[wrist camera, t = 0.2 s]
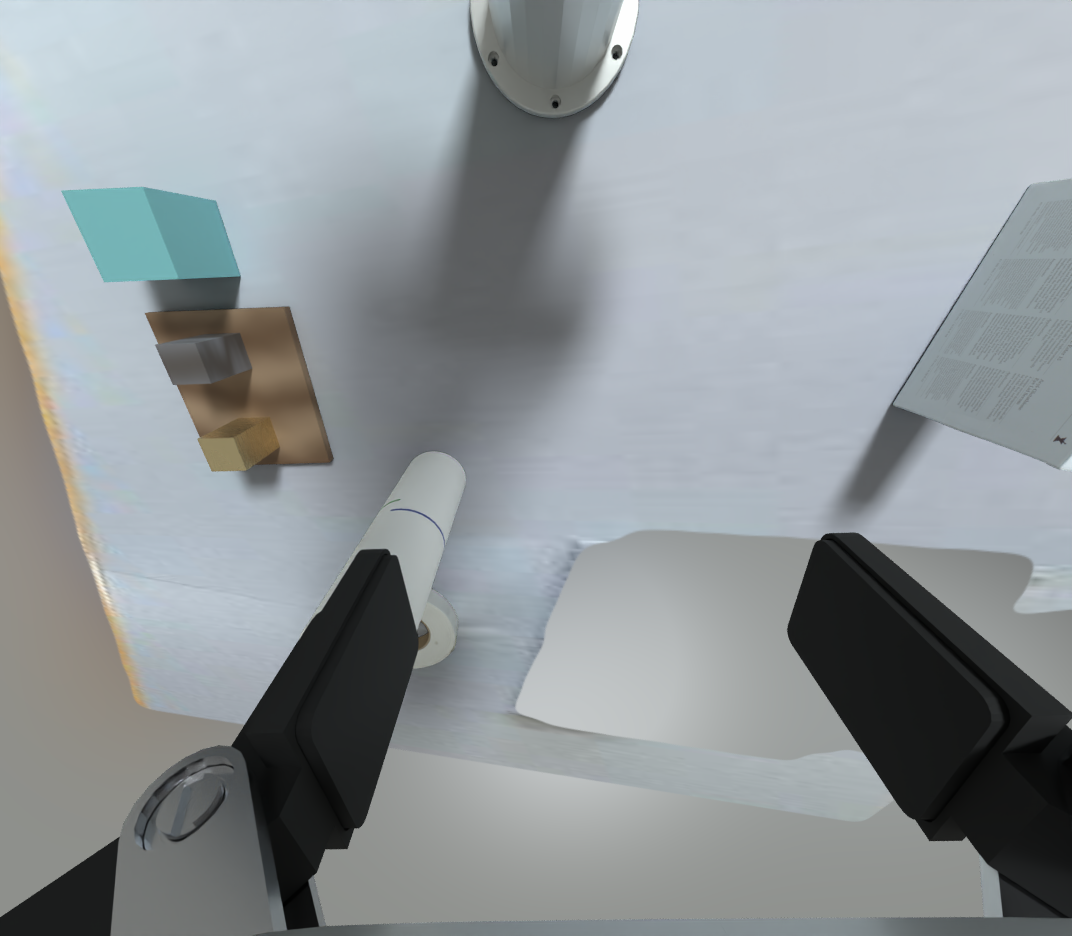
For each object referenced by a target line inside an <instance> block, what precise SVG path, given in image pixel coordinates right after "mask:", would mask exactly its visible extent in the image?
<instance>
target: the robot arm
mask: <svg viewBox="0 0 1072 936" xmlns="http://www.w3.org/2000/svg"><path fill="white" fill-rule="evenodd" d="M638 11H639V0H470V13H471V20H472V27H473V33H474V37H475V41H476V44H477V48H478V51H479V54H480V56H481V59H482V62H483V64H484V67H485V69H486V70H487V72H488V74H489V76H490V78H491V79H492V81H493V83H494V84H495V85H496V87H497V88H498V89H499V90H500V92H501V93H502V94H503V95H504V96H505V97H506V98H507V99H508V100H509V101H511V102H512V103H513V104H514V105H515V106H516V107H518V108H520V109H522V110H524V111H526V112H528V113H529V114H532V115H536V116H540V117H544V118H560V117H565V116H569V115H573V114H575V113H577V112H579V111H581V110H583V109H585V108H587V107H589V106H590V105H591V104H592V103H594V102H595V101H596V100H597V99H599V98H600V97H601V96H602V95H603V93H604V92H605V91H606V90H607V89H608V88H609V87H610V85H611V84H612V83H613V81H614V79H615V78H616V76H617V74H618V73H619V71H620V70H621V68H622V66H623V63H624V61H625V59H626V57H627V54H628V51H629V49H630V46H631V43H632V40H633V37H634V33H635V28H636V23H637V18H638ZM613 54H617V55H618V59H617V60H614V59H613V58H612V55H613ZM493 60H496V61H497V62H498V64H497V66H492V65H491V64H492V61H493ZM553 102H557V103H558V107H557V108H556V109H555V108H553V107H552V104H553ZM787 630H788V631H787V632H788V637H789V640H790V642H791V644H792V646H793V647H794V649H795V650H796V652H797V653H798V655H799V656H800V658H801V659H802V660H803V662H804V664H805V665H806V666H807V668H808V670H809V671H810V673H811V674H812V676H813V677H814V679H815V680H816V682H817V683H818V685H819V686H820V688H821V689H822V691H823V692H824V694H825V695H826V697H827V698H828V700H829V701H830V703H831V704H832V706H833V707H834V709H835V710H836V712H837V714H838V715H839V716H840V718H841V720H842V721H843V723H844V724H845V726H846V727H847V728H848V730H849V732H850V733H851V734H852V736H853V738H854V739H855V741H856V742H857V743H858V745H859V747H860V748H861V750H862V751H863V753H864V754H865V756H866V757H867V759H868V760H869V762H870V763H871V765H872V766H873V768H874V769H875V771H876V772H877V774H878V775H879V777H880V778H881V780H882V781H883V783H884V784H885V786H886V787H887V789H888V790H889V792H890V794H891V795H892V797H893V798H894V800H895V801H896V803H897V804H898V805H899V807H900V808H901V809H902V811H903V812H904V813H905V814H906V815H907V816H909V817H910V818H912V819H915V820H916V822H917V823H918V825H919V826H920V828H921V829H922V831H923V832H924V833H925V835H926V836H927V838H928V839H929V841H962V840H963V839H964V838H965V837H967V838H968V839H969V841H970V842H971V843H972V845H973V846H974V847H975V849H976V850H977V851H978V853H979V860H980V874H981V887H982V900H983V912H984V917H969V918H968V917H967V918H966V917H951V918H950V917H949V918H947V917H945V918H944V917H943V918H941V917H940V918H754V919H753V918H752V919H751V918H750V919H749V918H747V919H644V920H643V919H638V920H637V919H636V920H635V919H632V920H562V921H561V920H556V921H493V922H492V921H488V922H487V921H483V922H430V923H429V922H427V923H400V924H373V925H347V926H326V923H325V919H324V915H323V911H322V907H321V903H320V899H319V895H318V891H317V887H316V883H315V879H314V875H315V874H316V873H317V870H318V868H319V865H320V862H321V859H322V857H323V853H324V851H325V849H348V846H349V842H350V840H351V837H352V833H353V830H354V828H360V827H361V826H362V825H363V823H364V821H365V819H366V816H367V813H368V810H369V807H370V804H371V800H372V797H373V794H374V791H375V788H376V785H377V781H378V778H379V775H380V772H381V768H382V765H383V762H384V759H385V755H386V753H387V749H388V746H389V743H390V740H391V737H392V733H393V730H394V727H395V724H396V720H397V717H398V714H399V711H400V708H401V704H402V701H403V698H404V695H405V692H406V688H407V685H408V682H409V679H410V676H411V672H412V669H413V666H414V663H415V660H416V656H417V653H418V647H419V639H418V634H417V630H416V626H415V622H414V618H413V614H412V610H411V606H410V602H409V598H408V595H407V591H406V587H405V583H404V579H403V575H402V571H401V567H400V563H399V559H398V557H397V556H396V555H391V554H390V551H389V550H388V549H362V550H360V551H359V552H358V553H357V555H356V556H355V558H354V560H353V561H352V563H351V564H350V566H349V568H348V569H347V571H346V572H345V574H344V576H343V577H342V579H341V580H340V582H339V584H338V585H337V587H336V588H335V590H334V592H333V593H332V595H331V596H330V598H329V600H328V601H327V603H326V604H325V606H324V607H323V609H322V611H321V612H319V613H317V614H316V615H315V617H314V618H313V619H312V620H311V622H310V623H309V625H308V626H307V628H306V630H305V631H304V633H303V634H302V636H301V637H300V639H299V641H298V642H297V644H296V645H295V647H294V648H293V650H292V652H291V653H290V655H289V656H288V658H287V659H286V661H285V663H284V664H283V666H282V667H281V669H280V670H279V672H278V673H277V675H276V677H275V678H274V680H273V681H272V683H271V684H270V686H269V688H268V689H267V691H266V692H265V694H264V695H263V697H262V699H261V700H260V702H259V703H258V705H257V706H256V708H255V710H254V711H253V713H252V714H251V716H250V717H249V719H248V721H247V722H246V724H245V725H244V727H243V729H242V730H241V732H240V733H239V735H238V736H237V738H236V740H235V741H234V742H233V744H232V746H220V745H218V746H214V747H210V748H206V749H202V750H200V751H198V752H196V753H194V754H191V755H189V756H187V757H185V758H184V759H182V760H181V761H179V762H178V763H176V764H175V765H173V766H172V767H170V768H169V769H168V770H166V771H165V772H164V773H163V774H162V775H161V776H160V777H158V778H157V779H156V780H155V781H154V782H153V783H152V784H151V785H150V786H149V787H148V788H147V789H146V790H145V792H144V793H143V794H142V796H141V797H140V798H139V799H138V800H137V801H136V803H135V804H134V806H133V807H132V809H131V811H130V813H129V815H128V816H127V818H126V820H125V822H124V823H123V827H122V831H121V835H120V837H119V838H117V839H116V840H114V841H113V842H111V843H110V844H108V845H107V846H105V847H104V848H102V849H101V850H99V851H98V852H96V853H95V854H93V855H92V856H90V857H89V858H87V859H86V860H85V861H83V862H81V863H80V864H79V865H77V866H76V867H74V868H73V869H71V870H70V871H68V872H67V873H66V874H64V875H62V876H61V877H59V878H58V879H57V880H55V881H53V882H52V883H50V884H49V885H47V886H46V887H44V888H43V889H41V890H40V891H38V892H37V893H36V894H34V895H33V896H31V897H30V898H28V899H27V900H25V901H24V902H22V903H21V904H19V905H18V906H16V907H15V908H13V909H12V910H10V911H9V912H7V913H6V914H4V915H3V916H2V917H0V936H1072V730H1071V729H1070V728H1069V727H1068V726H1067V725H1066V724H1067V723H1068V722H1069V721H1070V720H1071V719H1072V712H1071V711H1069V710H1068V709H1067V708H1066V707H1065V706H1064V705H1062V704H1061V703H1060V702H1059V701H1058V700H1056V699H1055V698H1054V697H1053V696H1052V695H1050V694H1049V693H1048V692H1047V691H1045V689H1043V688H1042V687H1041V686H1040V685H1038V684H1037V683H1036V682H1035V681H1034V680H1033V679H1031V678H1030V677H1029V676H1028V675H1027V674H1025V673H1024V672H1023V671H1022V670H1021V669H1020V668H1018V667H1017V666H1016V665H1015V664H1014V663H1012V662H1011V661H1010V660H1009V659H1008V658H1007V657H1005V656H1004V655H1003V654H1002V653H1001V652H999V651H998V650H997V649H996V648H995V647H994V646H992V645H991V644H990V643H989V642H988V641H986V640H985V639H984V638H983V637H982V636H981V635H979V634H978V633H977V632H976V631H974V630H973V629H972V628H971V627H970V626H969V625H968V624H966V623H965V622H964V621H963V620H962V619H960V618H959V617H958V616H957V615H956V614H954V613H953V612H952V611H951V610H950V609H948V608H947V607H946V606H945V605H944V604H943V603H941V602H940V601H939V600H938V599H937V598H935V597H934V596H933V595H932V594H931V593H930V592H928V591H927V590H926V589H925V588H924V587H922V586H921V585H920V584H919V583H918V582H917V581H915V580H914V579H913V578H912V577H911V576H909V575H908V574H907V573H906V572H905V571H903V570H902V569H901V568H900V567H899V566H898V565H896V564H895V563H894V562H893V561H892V560H890V559H889V558H888V557H887V556H886V555H885V554H883V553H882V552H881V551H880V550H879V549H877V548H876V547H875V546H874V545H873V544H871V543H870V542H869V541H868V540H867V539H866V538H864V537H863V536H862V535H860V534H858V533H829V534H825V535H824V536H823V537H822V538H821V540H820V541H817V542H816V543H815V545H814V547H813V550H812V553H811V556H810V559H809V562H808V565H807V568H806V571H805V574H804V577H803V581H802V584H801V587H800V590H799V593H798V596H797V599H796V602H795V605H794V608H793V612H792V615H791V618H790V621H789V624H788V628H787Z"/></svg>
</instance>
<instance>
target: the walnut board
mask: <svg viewBox="0 0 1072 936" xmlns="http://www.w3.org/2000/svg"><path fill="white" fill-rule="evenodd" d="M145 315H146V317H147V319H148V321H149V324H150V326H151V328H152V330H153V333H154V335H155V337H156V339H157V342H158V344H157V345H155V346H156V348H157V350H158V352H159V355H160V357H161V359H162V361H163V364H164V366H165V368H166V370H167V373H168V375H169V377H170V379H171V381H172V384H173V385H177V387H178V389H179V391H180V393H181V396H182V398H183V400H184V402H185V405H186V407H187V409H188V411H189V414H190V416H191V418H192V420H193V423H194V425H195V427H196V429H197V432H198V434H199V436H200V437H202V436H204V435H206V434H208V433H210V432H212V431H214V430H216V429H218V428H220V427H222V426H224V425H225V424H227V423H229V422H231V421H233V420H235V419H237V418H256V417H270V420H271V422H272V425H273V428H274V431H275V434H276V437H277V439H278V442H279V445H280V447H279V448H277V449H276V450H275V451H273V452H272V453H270V454H269V455H268V456H266V457H265V458H263V459H262V460H261V461H259V462H258V463H256V464H255V465H261V464H294V463H327V462H331V461H332V460H333V455H332V452H331V448H330V445H329V442H328V438H327V435H326V431H325V428H324V424H323V421H322V418H321V414H320V411H319V407H318V404H317V400H316V397H315V393H314V390H313V387H312V383H311V380H310V376H309V373H308V369H307V366H306V363H305V359H304V356H303V352H302V349H301V345H300V342H299V339H298V335H297V332H296V328H295V325H294V321H293V318H292V315H291V311H290V308H289V307H266V308H241V309H215V310H190V311H164V312H149V313H145Z"/></svg>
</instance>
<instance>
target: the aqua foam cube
mask: <svg viewBox="0 0 1072 936" xmlns="http://www.w3.org/2000/svg"><path fill="white" fill-rule="evenodd" d="M62 194H63V196H64V198H65V200H66V202H67V204H68V206H69V208H70V211H71V213H72V215H73V217H74V219H75V221H76V223H77V225H78V228H79V230H80V232H81V234H82V236H83V238H84V240H85V242H86V244H87V247H88V249H89V251H90V253H91V255H92V257H93V259H94V261H95V264H96V266H97V268H98V270H99V272H100V274H101V276H102V278H103V280H104V282H122V281H146V280H170V279H193V278H215V277H237V276H240V273H239V270H238V267H237V264H236V261H235V258H234V255H233V252H232V249H231V246H230V243H229V240H228V237H227V234H226V231H225V228H224V225H223V222H222V219H221V216H220V213H219V210H218V206H217V203H216V201H214V200H208V199H203V198H198V197H193V196H187V195H182V194H177V193H172V192H167V191H161V190H156V189H151V188H146V187H130V188H108V189H87V190H65V191H62Z"/></svg>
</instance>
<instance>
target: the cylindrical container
mask: <svg viewBox="0 0 1072 936" xmlns="http://www.w3.org/2000/svg"><path fill="white" fill-rule="evenodd" d="M465 484H466V476H465V472H464V470H463V467H462V466H461V465H460V463H459V462H458V461H457V460H456V459H454V458H453V457H451V456H450V455H448V454H445V453H442V452H436V451H431V452H425V453H422V454H420V455H418V456H417V457H415V458H414V459H413V460H412V462H411V463H410V465H409V466H408V468H407V469H406V471H405V472H404V474H403V476H402V477H401V479H400V480H399V482H398V483H397V485H396V486H395V488H394V490H393V491H392V493H391V494H390V496H389V497H388V499H387V500H386V502H385V504H384V505H383V507H382V508H381V510H380V511H379V513H378V515H377V516H376V518H375V519H374V521H373V522H372V524H371V525H370V527H369V529H368V530H367V532H366V533H365V535H364V536H363V538H362V539H361V541H360V543H359V544H358V546H357V547H356V549H355V550H354V552H353V553H352V555H351V557H350V558H349V560H348V561H347V563H346V564H345V566H344V567H343V569H342V571H341V572H340V574H339V575H338V577H337V578H336V580H335V582H334V583H333V585H332V586H331V588H330V589H329V591H328V592H327V594H326V596H325V597H324V599H323V600H322V602H321V603H320V605H319V606H318V608H317V610H316V611H315V613H314V614H313V616H312V617H311V619H310V620H309V622H308V624H307V625H306V627H305V628H304V630H303V631H302V633H301V635H300V637H301V636H302V634H303V633H304V631H305V630H306V628H307V626H308V625H309V623H310V622H311V620H312V619H313V618H314V617H315V615H316V614H317V613H319V612H321V611H322V609H323V607H324V606H325V604H326V603H327V601H328V600H329V598H330V596H331V595H332V593H333V592H334V590H335V588H336V587H337V585H338V584H339V582H340V580H341V579H342V577H343V576H344V574H345V572H346V571H347V569H348V568H349V566H350V564H351V563H352V561H353V560H354V558H355V556H356V555H357V553H358V552H359V551H360V550H362V549H388V550H389V551H390V554H391V555H396V556H397V557H398V559H399V563H400V567H401V571H402V575H403V579H404V583H405V587H406V591H407V595H408V598H409V602H410V606H411V610H412V614H413V618H414V622H415V626H416V630H418V627H419V624H420V621H421V618H422V615H423V612H424V609H425V606H426V603H427V600H428V597H429V594H430V591H431V588H432V585H433V582H434V579H435V576H436V573H437V570H438V567H439V564H440V561H441V558H442V555H443V551H444V549H445V546H446V543H447V540H448V536H449V533H450V530H451V527H452V524H453V521H454V518H455V515H456V512H457V509H458V506H459V503H460V500H461V497H462V494H463V491H464V488H465ZM299 639H300V638H299Z"/></svg>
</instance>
